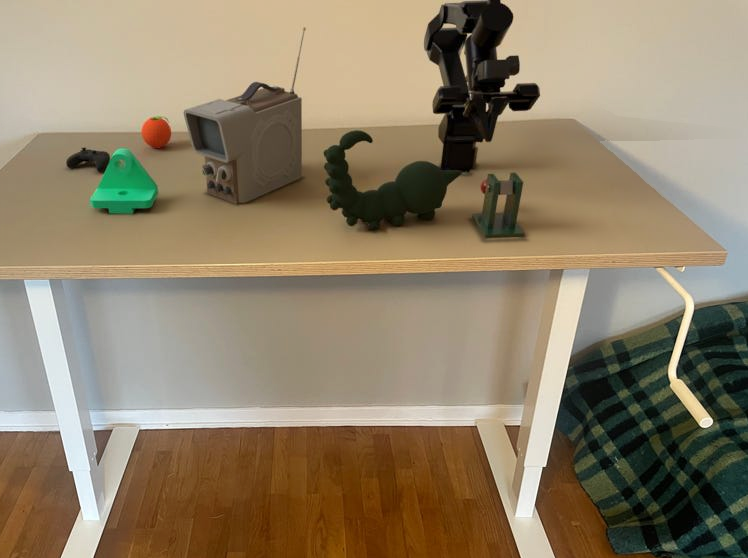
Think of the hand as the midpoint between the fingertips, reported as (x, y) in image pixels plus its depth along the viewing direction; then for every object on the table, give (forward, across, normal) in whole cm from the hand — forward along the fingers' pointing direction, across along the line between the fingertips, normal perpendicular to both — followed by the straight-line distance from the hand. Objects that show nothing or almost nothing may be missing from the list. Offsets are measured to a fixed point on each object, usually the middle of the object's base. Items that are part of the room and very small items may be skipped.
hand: (489, 141), depth 136 cm
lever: (+11, 0, -1) cm, 11 cm away
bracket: (+17, 0, 0) cm, 17 cm away
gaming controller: (-11, -80, +29) cm, 86 cm away
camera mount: (+5, -70, +12) cm, 71 cm away
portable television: (0, -44, +17) cm, 48 cm away
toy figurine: (+14, -19, +4) cm, 24 cm away
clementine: (-19, -66, +37) cm, 78 cm away
